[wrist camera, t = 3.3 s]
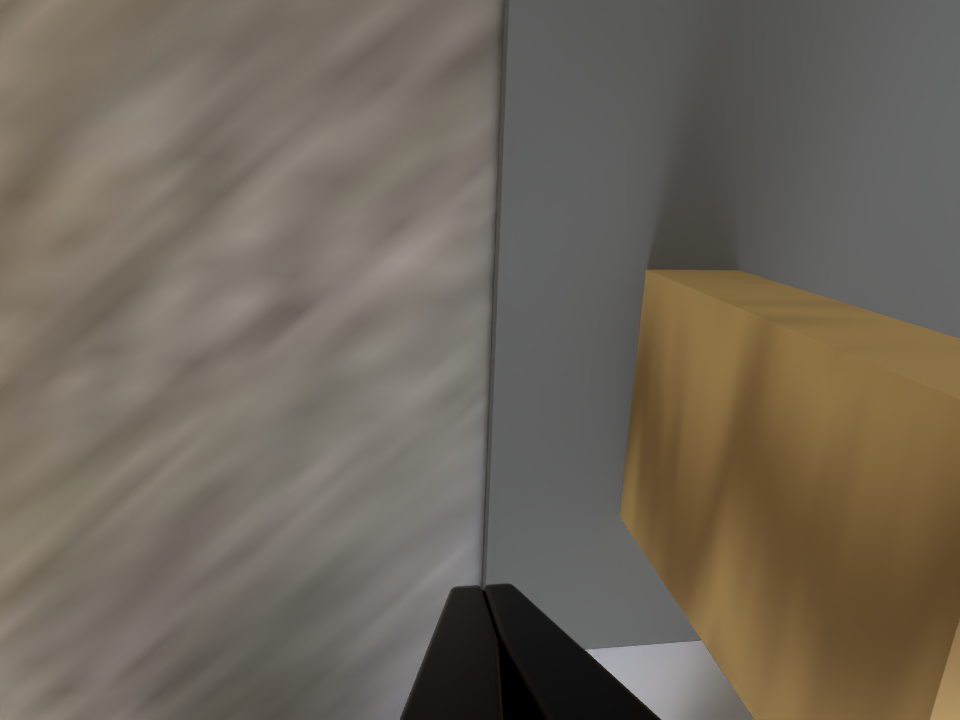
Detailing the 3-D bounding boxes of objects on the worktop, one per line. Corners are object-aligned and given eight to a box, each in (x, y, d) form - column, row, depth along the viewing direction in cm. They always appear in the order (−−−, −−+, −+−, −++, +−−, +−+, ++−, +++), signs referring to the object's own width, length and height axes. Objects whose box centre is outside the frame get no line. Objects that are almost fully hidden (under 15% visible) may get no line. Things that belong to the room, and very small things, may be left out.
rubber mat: (998, 603, 22) (1014, 615, 22) (480, 642, 20) (483, 657, 19) (1181, 23, 17) (1208, 18, 16) (505, -29, 14) (510, -37, 14)
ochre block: (702, 512, 19) (1034, 878, 9) (619, 516, 18) (874, 903, 9) (738, 270, 16) (1215, 417, 7) (646, 269, 16) (1017, 423, 7)
